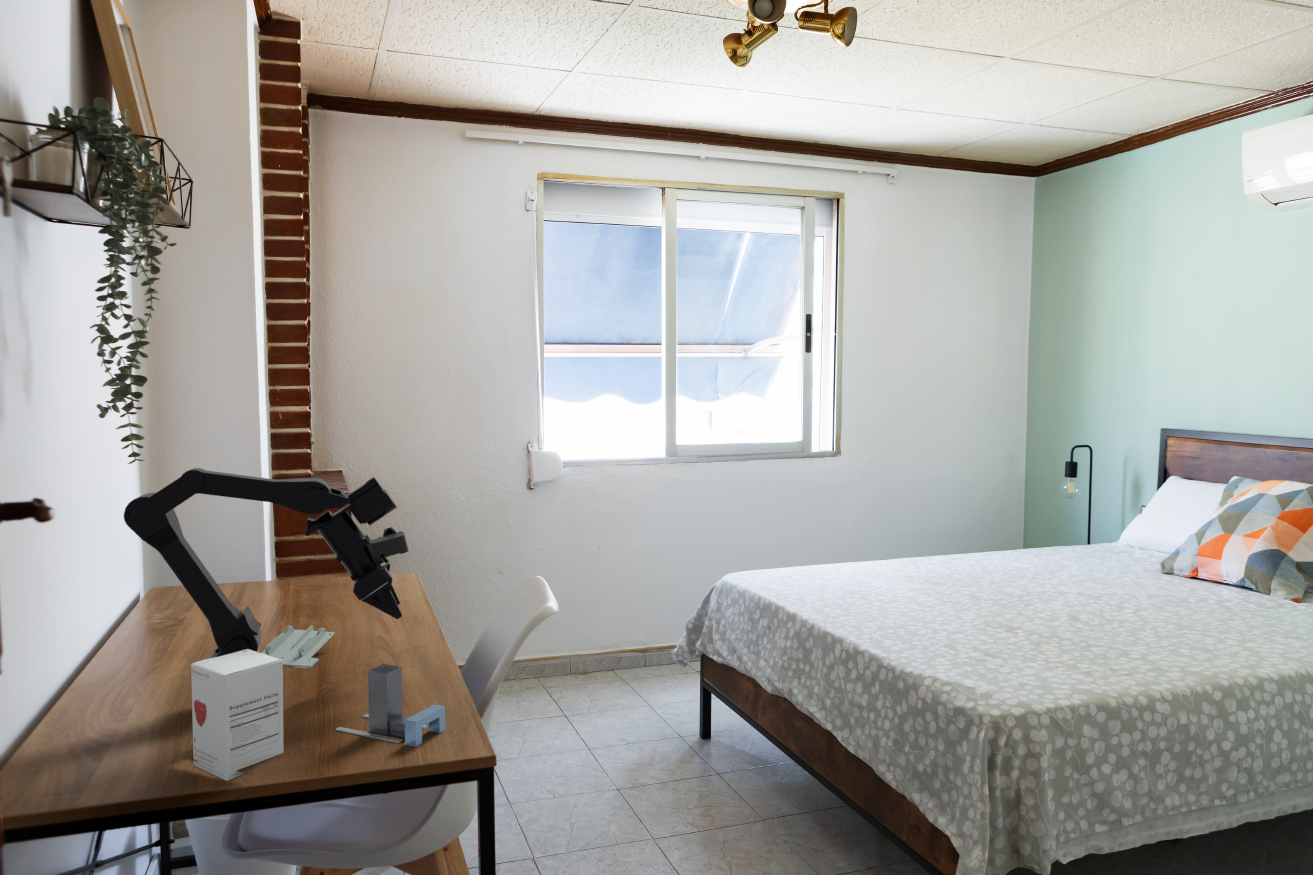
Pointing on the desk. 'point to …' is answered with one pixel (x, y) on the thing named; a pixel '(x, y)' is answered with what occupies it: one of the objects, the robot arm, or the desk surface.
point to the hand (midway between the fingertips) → (398, 611)
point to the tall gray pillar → (386, 700)
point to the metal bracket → (297, 646)
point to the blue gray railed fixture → (412, 726)
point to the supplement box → (236, 711)
